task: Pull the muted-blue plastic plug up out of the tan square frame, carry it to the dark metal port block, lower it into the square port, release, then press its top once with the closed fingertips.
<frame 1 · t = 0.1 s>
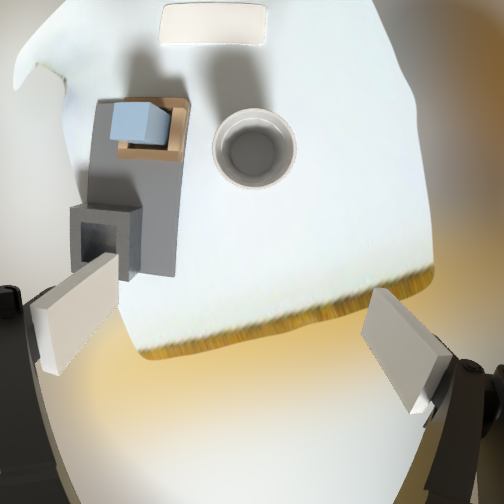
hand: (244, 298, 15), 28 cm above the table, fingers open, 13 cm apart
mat: (132, 187, 41), on the table
smartphone: (212, 24, 35), on the table
tan square frame: (157, 130, 38), resting on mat
cup: (252, 154, 40), on the table
plug: (156, 130, 38), point 1 cm above the table, touching tan square frame
port: (112, 235, 42), resting on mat
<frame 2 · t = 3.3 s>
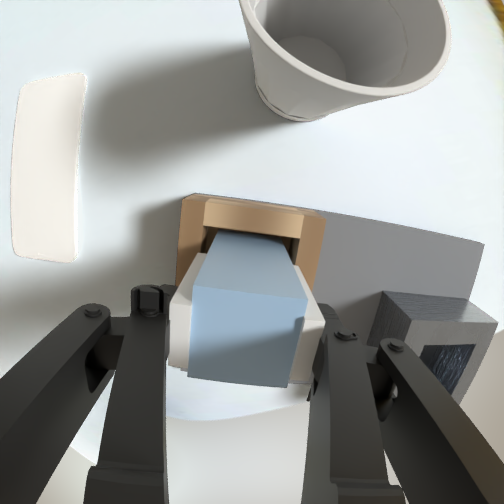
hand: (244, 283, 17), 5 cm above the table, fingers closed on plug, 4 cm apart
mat: (343, 307, 23), on the table
smartphone: (46, 167, 21), on the table
tan square frame: (245, 260, 21), resting on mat
cup: (300, 79, 19), on the table
plug: (245, 262, 21), point 1 cm above the table, touching gripper, tan square frame
port: (411, 343, 23), resting on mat
when the fingers open (7 cm above the table, at t = 7.6 s): plug drops 2 cm, resting on port.
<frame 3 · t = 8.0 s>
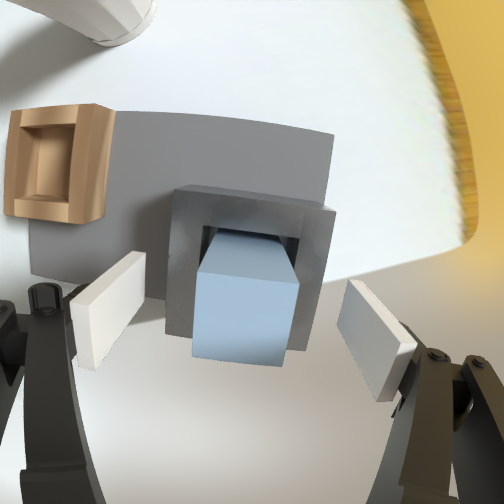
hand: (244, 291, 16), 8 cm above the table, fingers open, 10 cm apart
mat: (157, 206, 23), on the table
tan square frame: (66, 161, 21), resting on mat
cup: (121, 15, 18), on the table
plug: (244, 256, 22), point 1 cm above the table, touching port
port: (245, 254, 23), resting on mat
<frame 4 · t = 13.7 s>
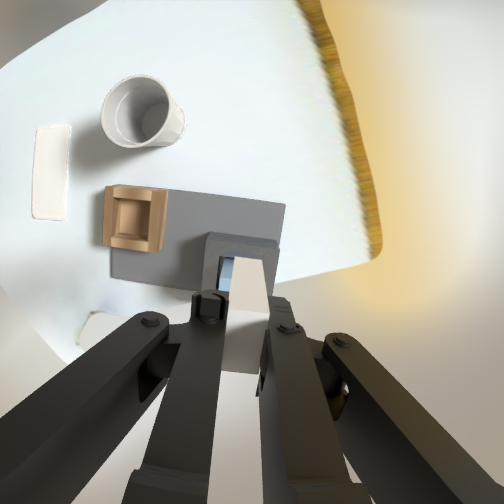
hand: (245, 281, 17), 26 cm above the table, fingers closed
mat: (192, 241, 44), on the table
smartphone: (51, 172, 41), on the table
tan square frame: (138, 215, 42), resting on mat
cup: (164, 124, 40), on the table
plug: (238, 268, 43), point 1 cm above the table, touching port
port: (239, 267, 44), resting on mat
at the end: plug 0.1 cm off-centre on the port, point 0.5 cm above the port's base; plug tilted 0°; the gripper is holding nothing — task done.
